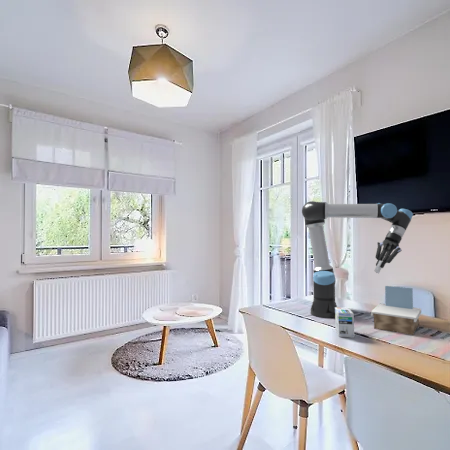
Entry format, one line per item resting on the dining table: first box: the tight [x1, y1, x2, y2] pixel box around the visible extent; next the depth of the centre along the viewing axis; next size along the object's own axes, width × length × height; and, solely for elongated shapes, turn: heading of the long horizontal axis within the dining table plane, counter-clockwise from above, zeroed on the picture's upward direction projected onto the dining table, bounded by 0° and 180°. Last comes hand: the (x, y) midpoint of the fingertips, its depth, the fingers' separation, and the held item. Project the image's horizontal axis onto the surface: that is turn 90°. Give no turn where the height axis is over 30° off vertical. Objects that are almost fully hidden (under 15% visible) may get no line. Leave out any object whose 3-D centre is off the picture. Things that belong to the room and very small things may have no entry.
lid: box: [370, 285, 422, 322], centre depth 150 cm, size 18×21×12 cm
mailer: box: [373, 314, 420, 336], centre depth 150 cm, size 16×20×7 cm
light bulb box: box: [334, 306, 355, 339], centre depth 140 cm, size 11×7×11 cm, turn 168°
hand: (376, 272), depth 167 cm, fingers closed
